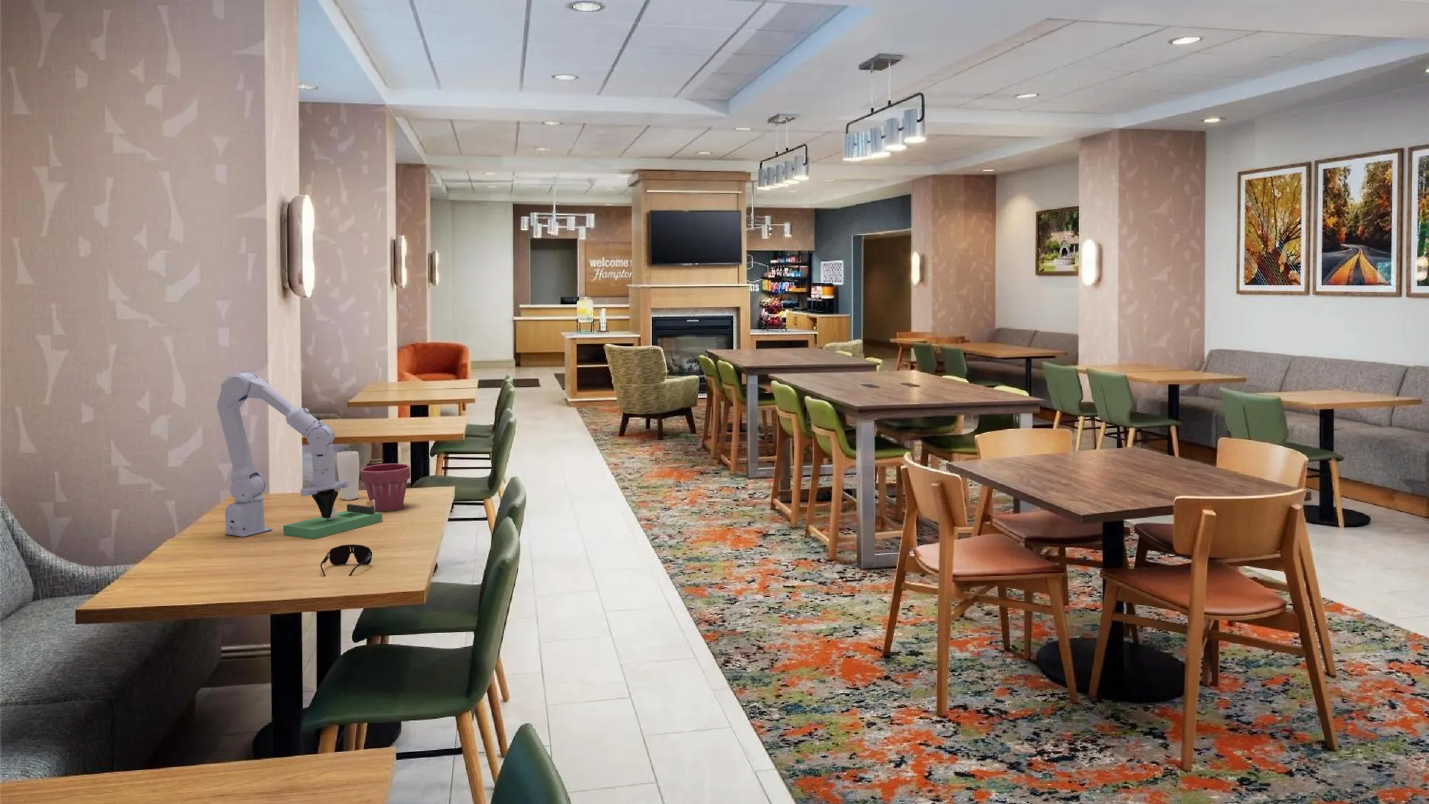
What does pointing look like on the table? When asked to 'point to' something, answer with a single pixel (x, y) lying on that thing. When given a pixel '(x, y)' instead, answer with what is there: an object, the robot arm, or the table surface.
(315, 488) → the robot arm
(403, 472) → the plant pot
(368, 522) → the green board
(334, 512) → the ball
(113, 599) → the table surface
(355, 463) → the drinking glass
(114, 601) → the table surface
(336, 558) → the sunglasses
